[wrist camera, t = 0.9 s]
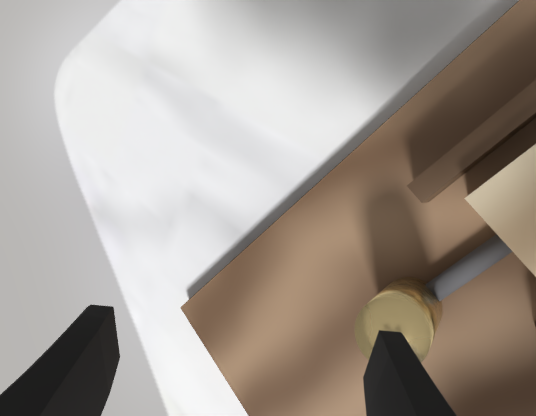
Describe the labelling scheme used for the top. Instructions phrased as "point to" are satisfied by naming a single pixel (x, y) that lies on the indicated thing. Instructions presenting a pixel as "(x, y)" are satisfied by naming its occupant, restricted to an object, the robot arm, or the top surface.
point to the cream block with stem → (493, 250)
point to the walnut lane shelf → (392, 252)
